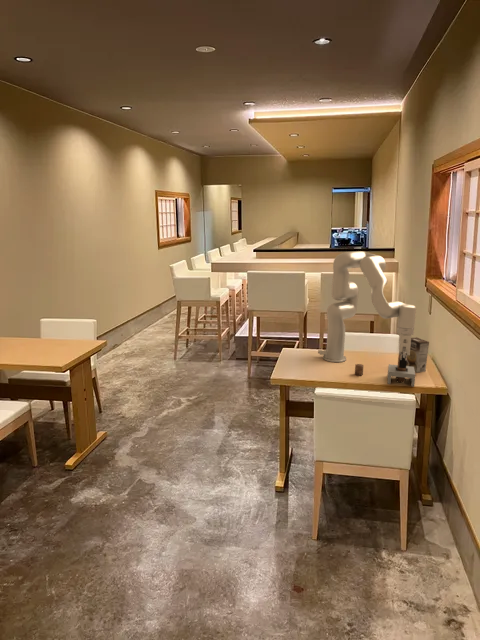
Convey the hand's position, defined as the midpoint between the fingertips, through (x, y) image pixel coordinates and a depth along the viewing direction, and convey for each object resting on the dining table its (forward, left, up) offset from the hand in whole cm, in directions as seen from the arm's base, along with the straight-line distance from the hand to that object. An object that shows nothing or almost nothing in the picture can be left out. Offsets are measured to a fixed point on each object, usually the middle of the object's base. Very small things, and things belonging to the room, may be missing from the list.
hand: (402, 364), depth 243 cm
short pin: (-20, +3, -8) cm, 22 cm away
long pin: (0, 0, -8) cm, 8 cm away
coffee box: (+8, +21, -9) cm, 24 cm away
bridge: (0, 0, -8) cm, 8 cm away
